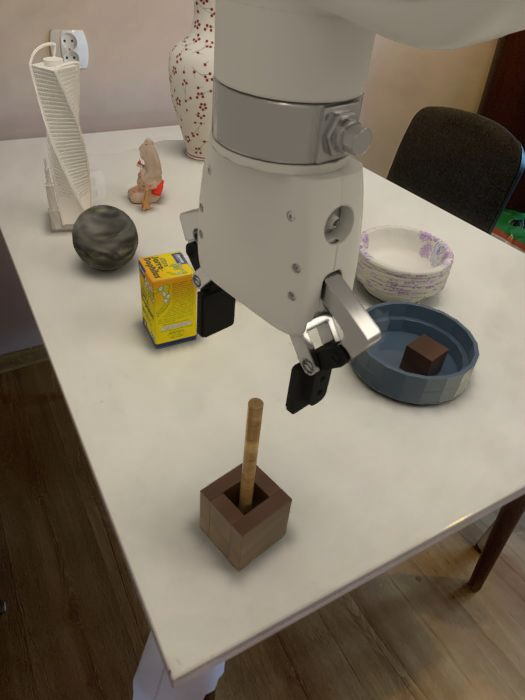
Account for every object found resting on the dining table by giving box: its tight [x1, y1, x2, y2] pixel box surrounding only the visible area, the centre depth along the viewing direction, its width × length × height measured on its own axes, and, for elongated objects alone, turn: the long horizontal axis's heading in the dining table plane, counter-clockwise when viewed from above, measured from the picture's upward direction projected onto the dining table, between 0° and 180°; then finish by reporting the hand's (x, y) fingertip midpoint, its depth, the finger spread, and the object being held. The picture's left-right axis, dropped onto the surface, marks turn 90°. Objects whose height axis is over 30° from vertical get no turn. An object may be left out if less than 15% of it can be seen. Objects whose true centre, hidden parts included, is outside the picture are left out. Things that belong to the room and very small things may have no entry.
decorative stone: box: [71, 204, 139, 271], centre depth 84 cm, size 10×10×10 cm
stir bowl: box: [350, 301, 480, 405], centre depth 73 cm, size 16×16×5 cm
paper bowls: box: [355, 225, 455, 303], centre depth 86 cm, size 15×15×8 cm
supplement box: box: [137, 250, 198, 350], centre depth 72 cm, size 6×6×11 cm
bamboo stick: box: [238, 397, 264, 515], centre depth 47 cm, size 1×1×18 cm
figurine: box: [126, 138, 165, 211], centre depth 103 cm, size 9×7×12 cm
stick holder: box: [199, 462, 293, 572], centre depth 51 cm, size 6×6×6 cm
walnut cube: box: [399, 334, 449, 376], centre depth 72 cm, size 4×4×4 cm
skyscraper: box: [28, 41, 93, 233], centre depth 89 cm, size 8×8×28 cm
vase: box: [167, 0, 215, 162], centre depth 116 cm, size 16×16×35 cm
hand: (257, 363), depth 39 cm, fingers open, 9 cm apart
